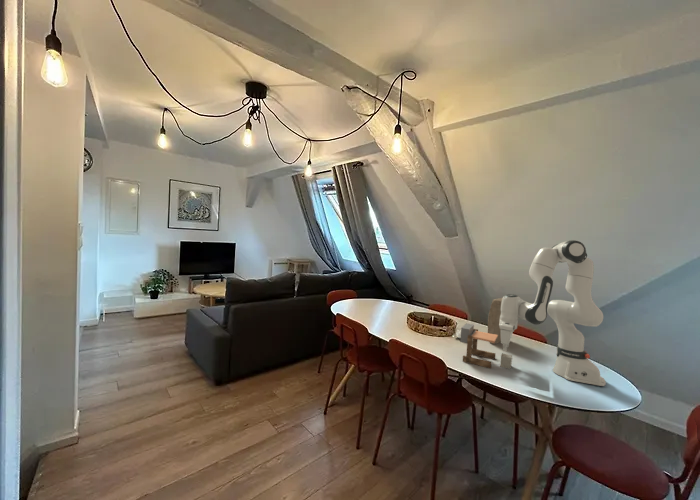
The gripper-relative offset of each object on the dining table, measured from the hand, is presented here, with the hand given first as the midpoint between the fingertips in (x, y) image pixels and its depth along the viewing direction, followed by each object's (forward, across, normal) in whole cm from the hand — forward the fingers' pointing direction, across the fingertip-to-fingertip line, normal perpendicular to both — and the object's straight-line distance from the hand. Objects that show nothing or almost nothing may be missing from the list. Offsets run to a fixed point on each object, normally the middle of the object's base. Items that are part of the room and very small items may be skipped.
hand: (505, 349), depth 169 cm
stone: (+10, -1, +1) cm, 10 cm away
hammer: (-4, 0, -18) cm, 18 cm away
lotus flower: (+9, -32, -29) cm, 44 cm away
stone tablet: (+8, -44, -11) cm, 47 cm away
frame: (+10, 0, -17) cm, 20 cm away
